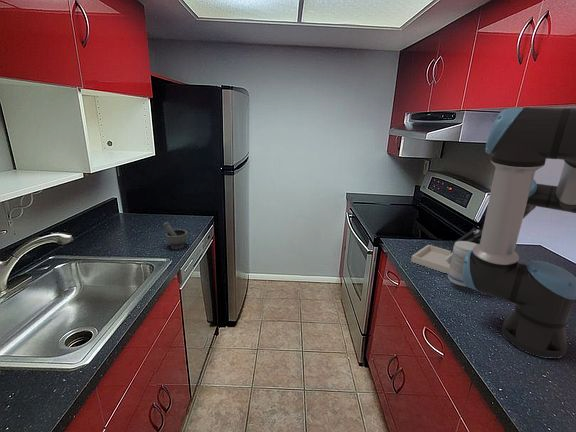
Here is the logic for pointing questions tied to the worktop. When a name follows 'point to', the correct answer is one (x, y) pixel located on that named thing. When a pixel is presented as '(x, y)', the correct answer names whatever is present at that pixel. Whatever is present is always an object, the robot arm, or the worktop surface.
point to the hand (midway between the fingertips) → (457, 267)
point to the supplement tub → (459, 261)
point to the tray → (432, 258)
